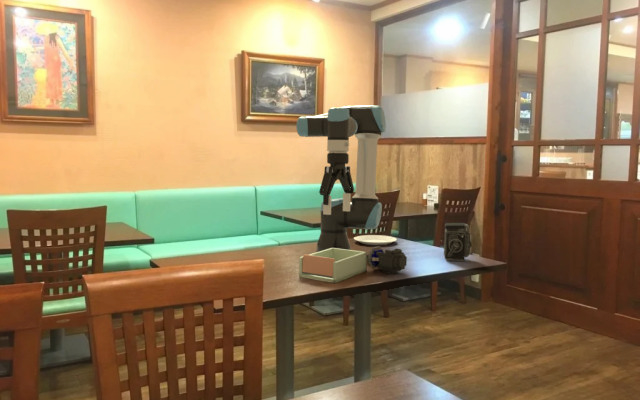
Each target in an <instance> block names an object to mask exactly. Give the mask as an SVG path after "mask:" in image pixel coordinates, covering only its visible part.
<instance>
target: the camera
mask: <svg viewBox="0 0 640 400" xmlns="http://www.w3.org/2000/svg"><path fill="white" fill-rule="evenodd" d="M444 227H445V229H444V237H443V238H444V241H443V255H444V259H445V260H446V261H447V262H448V261H457V262H459V261H460V262H465V258H468V257H469V256H471V254H472V247H473V246H472V244H473V243H472V234H471V233H470V232H469V230H470V229H469V228H470V226H469V225H468V224H467V223H465V222H445V223H444Z"/></svg>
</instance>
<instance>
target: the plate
mask: <svg viewBox="0 0 640 400" xmlns="http://www.w3.org/2000/svg"><path fill="white" fill-rule="evenodd" d="M353 240H355V241H358V242H359V243H360V244H363V245H367V246H386V245H389V244H391V243H394V242H396V241H397V240H398V238H397V237H394V236H390V235H389V236H388V235H380V234H378V235H377V234H367V235H365V234H364V235H357V236H354V237H353Z"/></svg>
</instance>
